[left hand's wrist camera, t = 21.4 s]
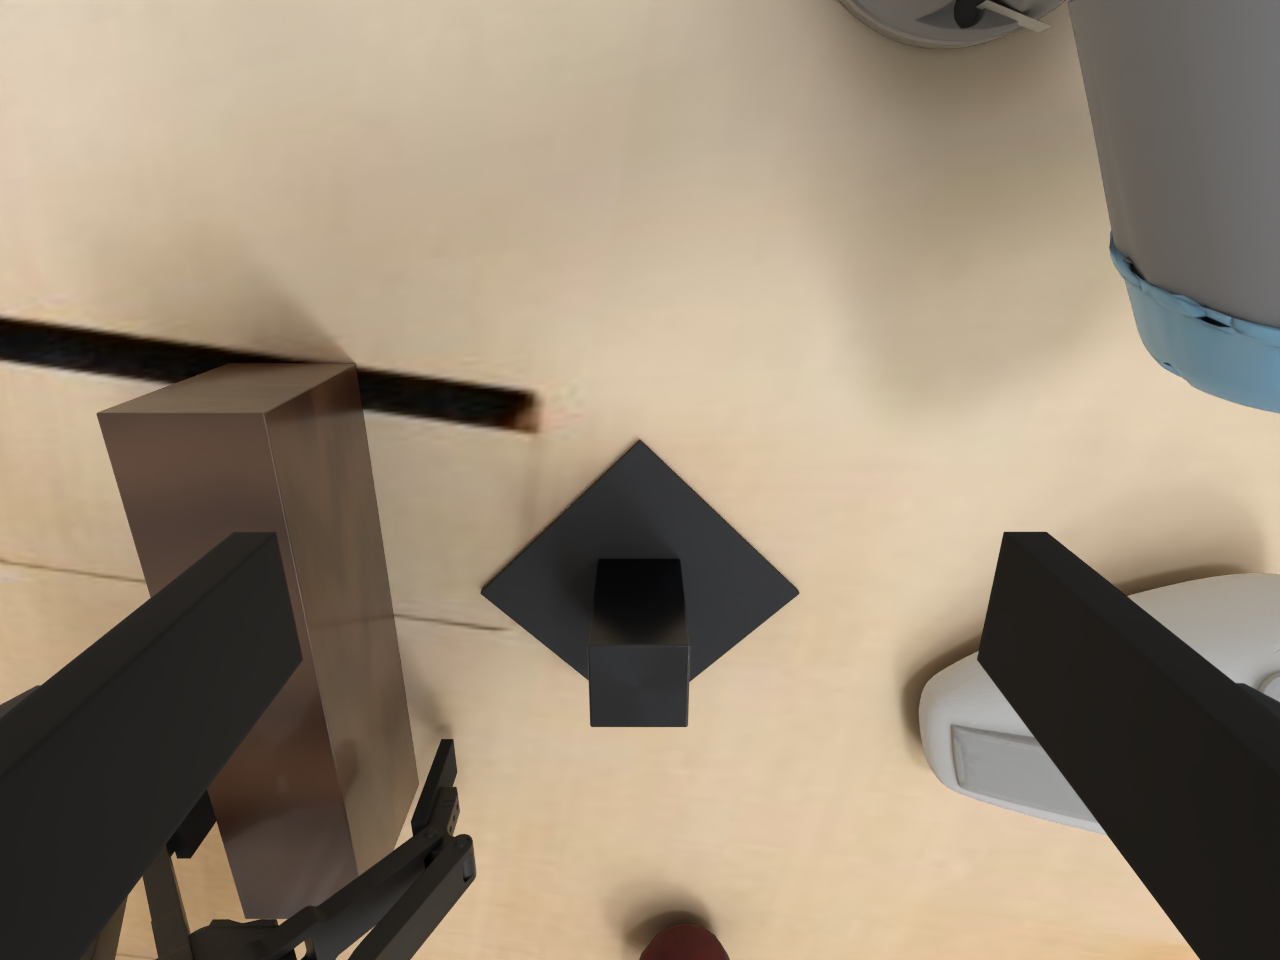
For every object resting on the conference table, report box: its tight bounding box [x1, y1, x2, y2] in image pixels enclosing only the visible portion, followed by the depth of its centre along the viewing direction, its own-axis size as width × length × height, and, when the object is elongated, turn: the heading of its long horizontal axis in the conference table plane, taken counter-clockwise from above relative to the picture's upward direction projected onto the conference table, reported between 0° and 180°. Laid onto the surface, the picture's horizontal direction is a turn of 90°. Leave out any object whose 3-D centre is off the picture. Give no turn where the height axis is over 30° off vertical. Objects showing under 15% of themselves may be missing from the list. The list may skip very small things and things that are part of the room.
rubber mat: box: [481, 440, 799, 682], centre depth 43 cm, size 14×14×1 cm
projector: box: [919, 573, 1280, 835], centre depth 39 cm, size 22×23×15 cm
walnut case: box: [97, 363, 419, 919], centre depth 39 cm, size 30×7×10 cm, turn 0°
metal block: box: [588, 559, 690, 727], centre depth 39 cm, size 5×5×9 cm
